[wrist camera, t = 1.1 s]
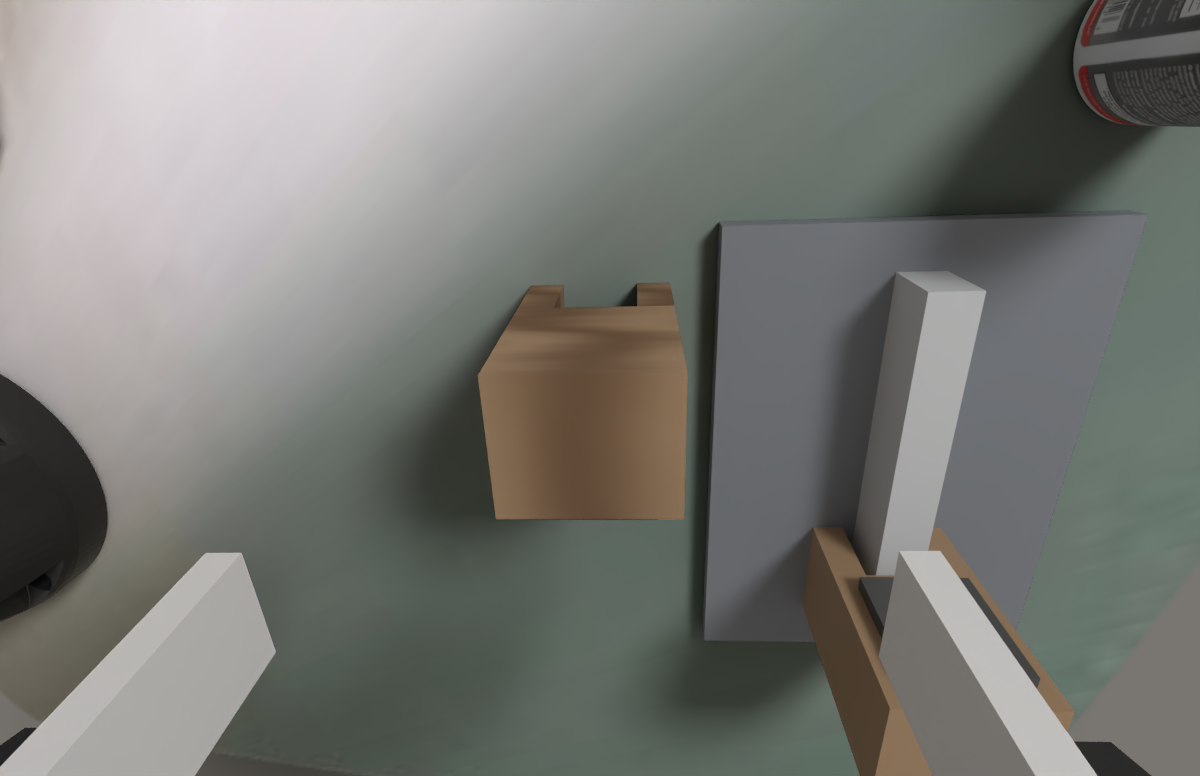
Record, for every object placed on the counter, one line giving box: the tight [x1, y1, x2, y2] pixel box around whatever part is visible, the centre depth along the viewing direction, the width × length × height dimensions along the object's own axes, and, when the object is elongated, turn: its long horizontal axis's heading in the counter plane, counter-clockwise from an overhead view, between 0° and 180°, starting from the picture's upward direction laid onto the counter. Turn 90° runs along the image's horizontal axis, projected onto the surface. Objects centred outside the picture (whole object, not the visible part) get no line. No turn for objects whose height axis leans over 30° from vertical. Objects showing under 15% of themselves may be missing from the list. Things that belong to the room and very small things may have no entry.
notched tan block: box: [478, 283, 688, 520], centre depth 23 cm, size 6×6×10 cm
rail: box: [702, 211, 1148, 776], centre depth 24 cm, size 16×22×11 cm
